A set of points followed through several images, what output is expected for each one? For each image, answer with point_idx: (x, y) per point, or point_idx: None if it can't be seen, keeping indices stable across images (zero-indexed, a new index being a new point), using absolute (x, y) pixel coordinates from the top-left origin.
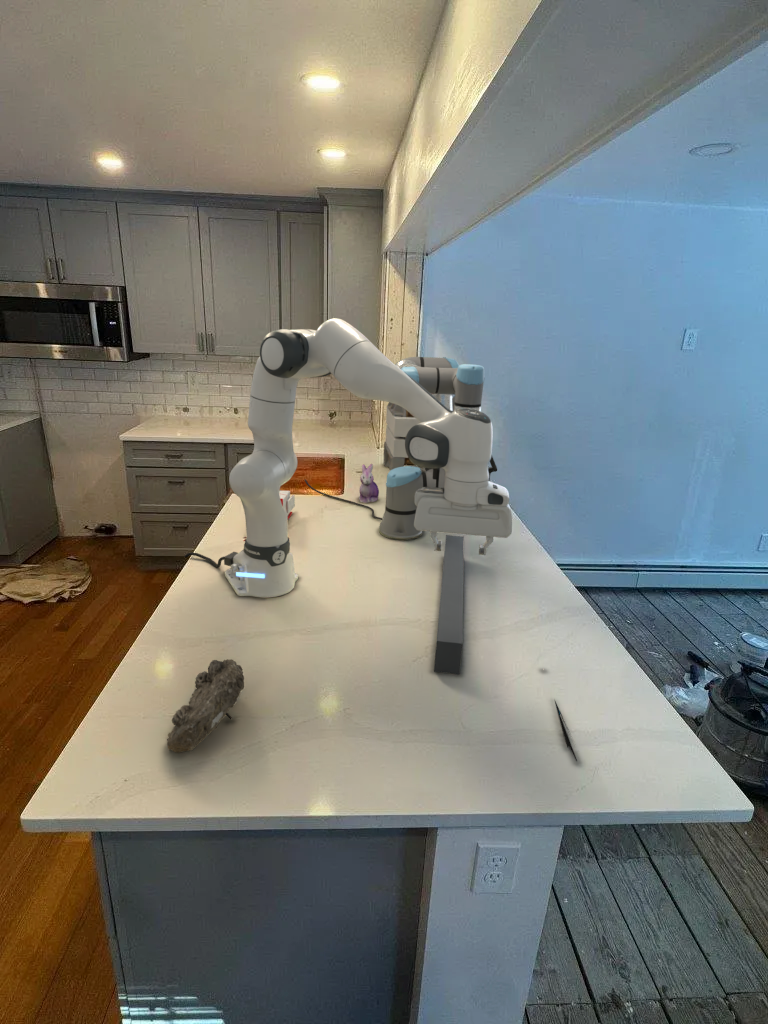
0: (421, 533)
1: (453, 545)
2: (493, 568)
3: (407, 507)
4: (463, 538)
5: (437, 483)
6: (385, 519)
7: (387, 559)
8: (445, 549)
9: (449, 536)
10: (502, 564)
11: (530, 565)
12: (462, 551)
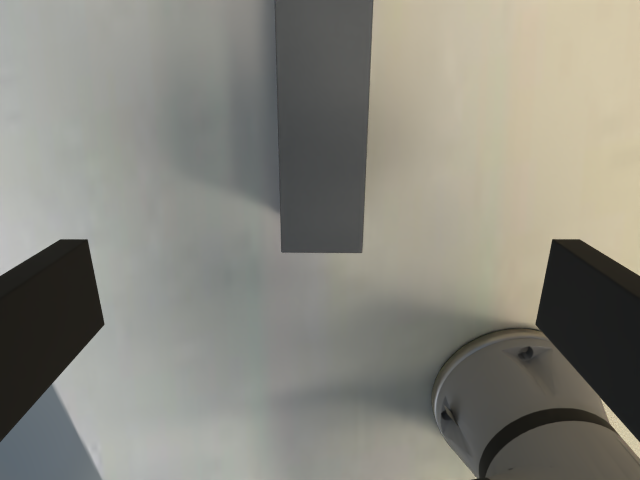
0: (435, 387)
1: (326, 133)
2: (167, 164)
3: (549, 440)
4: (281, 228)
5: (619, 276)
6: (601, 402)
7: (570, 156)
8: (366, 69)
9: (346, 237)
10: (138, 207)
11: (38, 220)
12: (281, 64)
